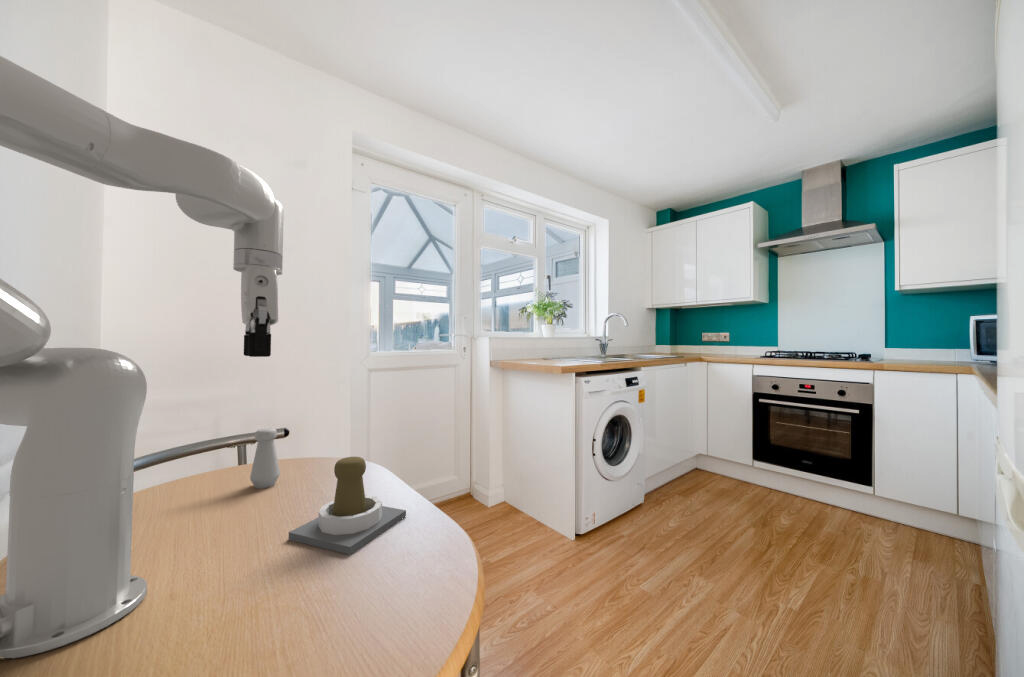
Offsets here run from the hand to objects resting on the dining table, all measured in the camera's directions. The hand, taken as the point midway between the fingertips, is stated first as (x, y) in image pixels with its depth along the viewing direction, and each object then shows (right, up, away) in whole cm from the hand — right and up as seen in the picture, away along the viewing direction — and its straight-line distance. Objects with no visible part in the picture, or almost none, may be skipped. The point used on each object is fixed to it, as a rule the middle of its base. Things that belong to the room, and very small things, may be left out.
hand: (256, 356), depth 69 cm
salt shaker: (-10, -31, +18) cm, 37 cm away
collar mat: (+19, -30, -2) cm, 36 cm away
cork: (+18, -29, -3) cm, 35 cm away
